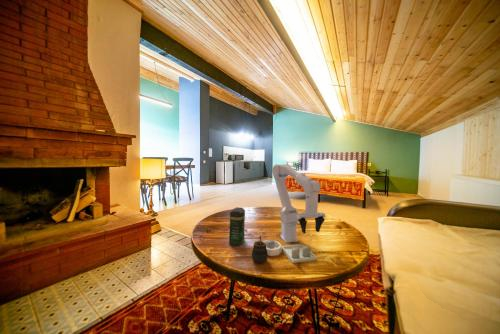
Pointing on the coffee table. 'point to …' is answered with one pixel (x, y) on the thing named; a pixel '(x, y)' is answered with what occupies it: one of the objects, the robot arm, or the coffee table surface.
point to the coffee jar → (237, 226)
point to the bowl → (276, 250)
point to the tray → (288, 253)
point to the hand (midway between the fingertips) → (310, 232)
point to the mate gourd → (259, 252)
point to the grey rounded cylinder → (270, 244)
